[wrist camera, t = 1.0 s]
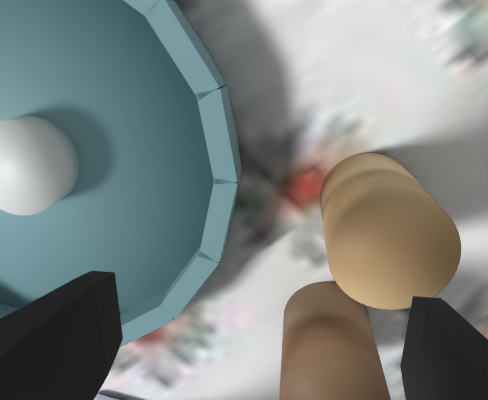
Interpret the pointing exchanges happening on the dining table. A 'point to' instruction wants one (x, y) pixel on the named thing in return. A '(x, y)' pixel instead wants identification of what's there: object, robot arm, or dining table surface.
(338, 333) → the brown wooden peg
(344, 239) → the oak bead
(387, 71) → the dining table surface
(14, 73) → the ring tray
